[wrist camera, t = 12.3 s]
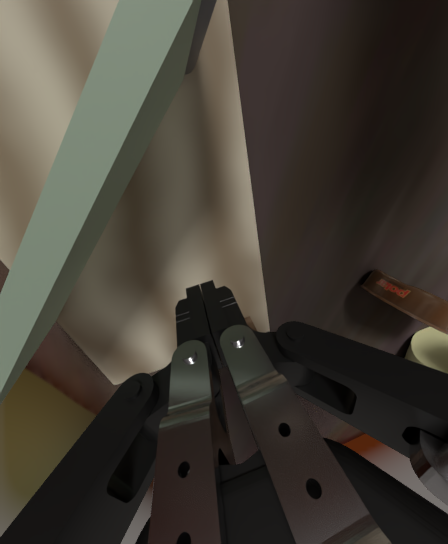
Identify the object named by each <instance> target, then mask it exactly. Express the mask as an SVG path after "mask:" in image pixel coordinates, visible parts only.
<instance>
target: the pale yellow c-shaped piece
mask: <svg viewBox="0 0 448 544" xmlns="http://www.w3.org/2000/svg"><path fill="white" fill-rule="evenodd" d="M404 358H405V359H408V360H410V361H413V362H416V363H419V364H422V365H425V366H428V367H430V368H433V369H436V370H439V371H442V372H445V373H448V335H447V334H445V333H443V332H440V331H438V330H436V329H434V328H432V327H428V328H426V329H423V330H420V331H418V332H417V333H415V335H414V336H413V338H412V340H411V343H410V345H409V348H408V350H407V353H406V355H405V357H404Z"/></svg>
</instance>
